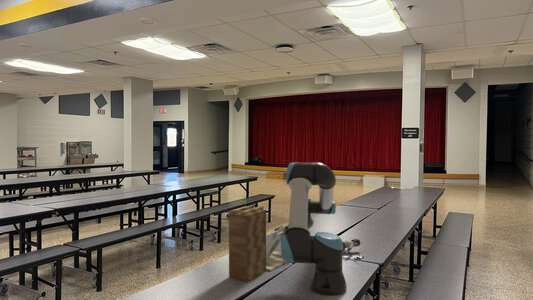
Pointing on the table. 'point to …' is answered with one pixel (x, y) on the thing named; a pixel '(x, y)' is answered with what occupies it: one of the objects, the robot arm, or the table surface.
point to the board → (274, 261)
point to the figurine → (350, 245)
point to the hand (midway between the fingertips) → (274, 235)
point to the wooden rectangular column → (247, 243)
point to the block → (273, 243)
